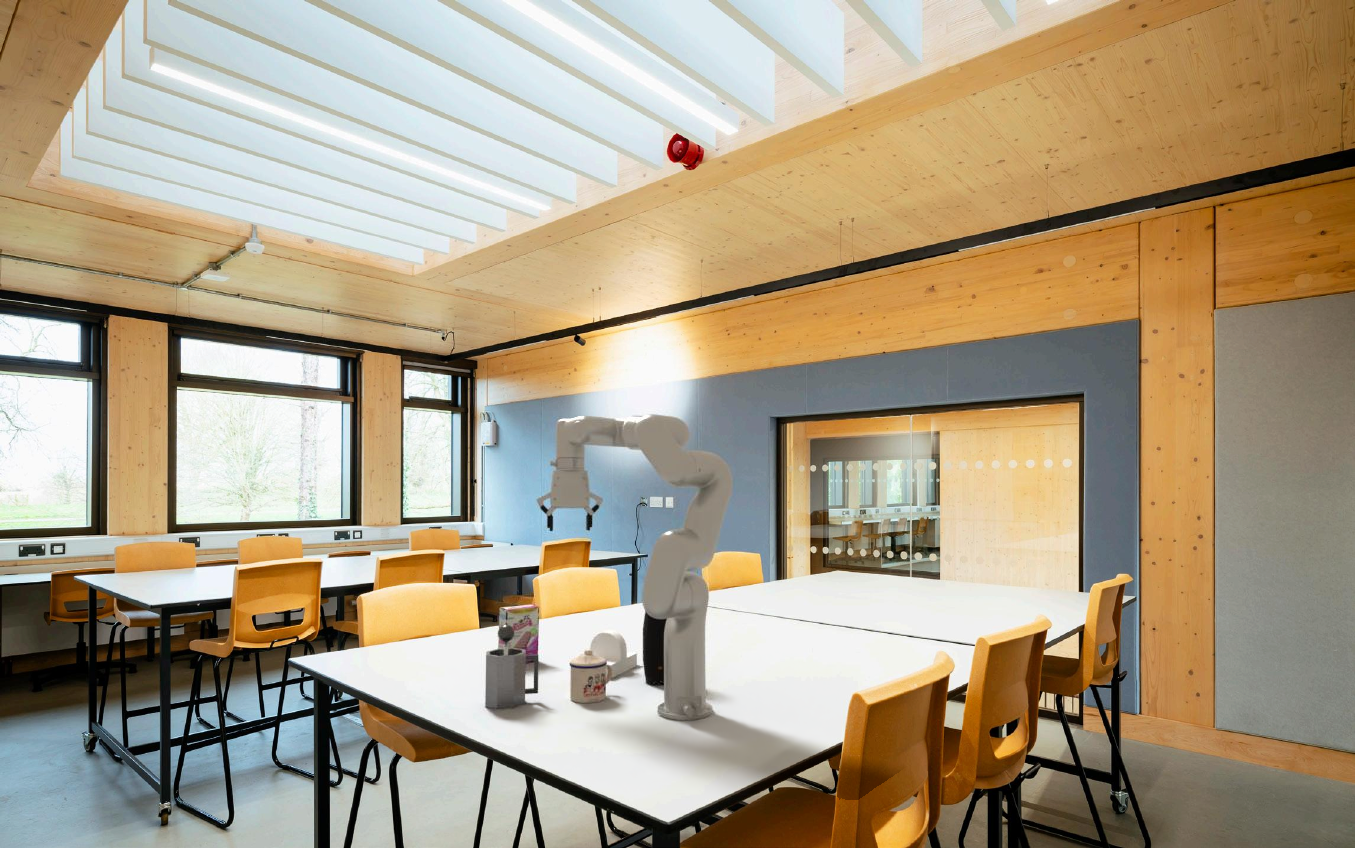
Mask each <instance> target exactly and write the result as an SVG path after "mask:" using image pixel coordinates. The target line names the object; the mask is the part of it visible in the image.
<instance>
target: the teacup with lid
mask: <svg viewBox="0 0 1355 848" xmlns="http://www.w3.org/2000/svg"><path fill="white" fill-rule="evenodd" d="M583 652H584V653H581V654H579V656H577V657H574V658H572V659H571V660H570V661H569V666H570V681H569V682H570V684H569V685H570V693H569V694H570V696H569V697H570V700H571V701H572V702H575V703H579V704H593V702H594V703H598V702H602V701H604V700H605V699H606V697H607V687H606V686H607V684H609V682H610V681H611V679H612V678H611V676H612V668H611V666H610V665H608V664H607V662H606V659H604V658H602V657H599V656H597V655H596V654H593V653H592V650H591V649H590V648H588V649H584V651H583ZM606 667H607V669H608V674H607V677H606ZM601 700H602V701H601Z"/></svg>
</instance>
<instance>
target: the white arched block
mask: <svg viewBox="0 0 1355 848" xmlns="http://www.w3.org/2000/svg"><path fill="white" fill-rule="evenodd" d="M627 648H628V647H627V643H626V639H625V638H624V637H623V635H621V634H620V633H619V632H617V631H616V630H605V631H603V632H599V633H598V634H596V635H595V636H594V637H593V638H592V640H591V642H590V648H589V649H591V650H592V653H593V654H596V655H597V656H599V657H602V658H604V659H606V662H607V664H608V665H610V666H611V668H612V676H611V677H612V678H614V677H617V676H618V675H620V674H622V673H625V672H626V671H628V670H630V669H632V668H634V667H636V666H638V653H637V652H634V651H630V652H628V649H627ZM631 667H632V668H631ZM625 670H626V671H625ZM619 673H620V674H619ZM607 674H608V669H607V667H606V677H607ZM617 674H618V675H617ZM613 676H614V677H613Z"/></svg>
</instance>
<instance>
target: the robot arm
mask: <svg viewBox="0 0 1355 848" xmlns="http://www.w3.org/2000/svg"><path fill="white" fill-rule="evenodd" d="M555 425H556V426H555V459H554V460H550V463H549V464H550V467H554V468H555V470H552V471H553V472H552V475H551V483H550V491H549V492H547V493H546V494H544V495H541V496H540V497H537V499H536V503H537V504H538V506H539V508H540V510H541V511H542V512H543V513H544V514H545V515H546V528H547V529H549V531H550V532H553V531H554V516H553V513H554V511H555V510H556V509H584V511H585V512H586V517H585V530H586V531H591V528H593V515H594V514H595V513H596V512H597V511H598V510H599V509H600V507H601V505H602V503H603V501H604V499H603V497H600V496H598V495H597V494H595V493H593V492H591V490H590V479H589V472H588V470H585V447H586V446H599V447H613V448H615V447H617V448H628V449H629V450H634V451H641V453H642V454H643V455H644V456H645V458H646V459H647V461H648V462H649V464H651V466H652V467H653V469H654V470H655V471H656V473H657V474H658V476H660V478H661V479H662V480H663V481H664V482H665V483H667V484H668V485H670V486H672V487H675V488H697V492H696V494H695V495H694V497H693V498H692V499H691V501H690V503H689V505H688V507H687V511H686V515H685V518H684V522H683V525H682V526H681V528H678V529H677V528H676V529H675V528H674V529H670V530H667V531H665V532H663V533H662V534H661V535H660V536H659V537H658V539H657V540H656V541H655V543H654V546H653V547H652V551H651V554H650V557H649V562H648V566H647V569H646V574H645V577H644V581H643V586H642V591H641V602H642V606H643V609H644V612H645V611H646V612H647V614H648V615H650V616H651V617H653V618H655V619H667V621H666V625H665V630H664V682H663V694H664V696H663V700H664V701H663V702H662V703H661V704H659V705H658V706H657V714H658V715H659V716H661V717H663V718H666V719H670V720H677V721H690V720H691V721H692V720H701V719H704V718H708V717H710V715H712V714H713V711H714V710H713V706H712V705H711V704H710V703H709V702H707V701H706V700H707V699H706V697H707V696H706V695H707V694H706V693H707V692H706V690H707V688H706V686H707V685H706V684H707V683H706V622H707V621H706V619H707V612H708V606H709V601H710V600H709V598H710V596H709V595H710V592H709V587H708V584H707V582H706V580H705V579H704V578H703V577H702V576H701V575H700V574H698V573H696V572H693V571H697V570H702V569H705V568H706V567H708V566H709V565H710V564H711V562H712V561H713V558H714V556H715V552H716V548H717V545H718V543H719V542H718V541H719V537H720V534H721V531H722V525H723V521H724V517H725V514H726V511H727V508H728V504H729V502H730V499H731V496H732V491H733V476H732V471H731V470H730V467H729V465H728V463H726V461H725V460H724V459H723V458H722V457H720V456H719V455H717V454H716V453H714V452H710V451H706V450H699V449H698V450H696V449H694V450H693V449H683V448H684V447H686V445H687V444H688V442H689V441H690V429H689V427H688V425H687V423H686V422H685V421H684V420H683V419H681V418H679V417H676V416H675V417H674V416H671V415H670V416H669V415H662V414H647V415H630V416H628V417H627V418H611V417H604V416H592V415H581V416H577V417H573V418H561V419H558V420H557V421H556V424H555ZM548 499H549V500H550V507H549V508H547V506H545V504H544V501H546V500H548ZM591 499H592V500H594V501H596V502H595V505H593V506H592V507H590V504H591Z"/></svg>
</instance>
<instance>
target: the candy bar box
mask: <svg viewBox="0 0 1355 848" xmlns="http://www.w3.org/2000/svg"><path fill="white" fill-rule="evenodd" d="M498 613H499V615H498V616H499V617H498V629H499V628H500V627H501V626H503V625H510V626H512V627H513V628H514V631H515V634H514V637H513V639H512V640H510V641H508V648H518V649H525V652H526V655H534V654H538V655H539V633H540V632H539V630H540V629H539V628H540V626H539V625H540V623H539V622H540V606H538V605H536V604H523V605H514V606H504V607H499V611H498ZM497 644H498V645H497V647H498V648H497V649H503V648H504V642H503V641H501V640H500V639H499V638H498V643H497ZM530 661H534V660H526V662H529V663H531V662H530Z"/></svg>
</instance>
